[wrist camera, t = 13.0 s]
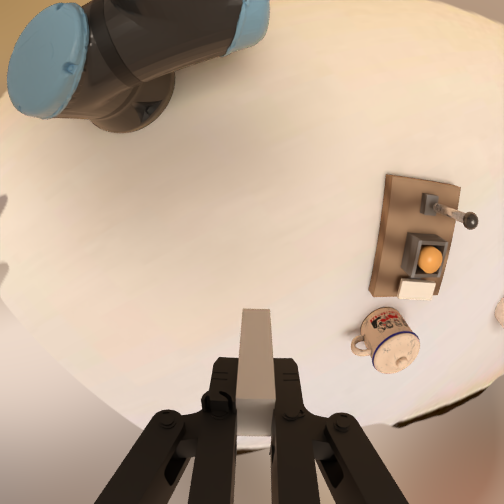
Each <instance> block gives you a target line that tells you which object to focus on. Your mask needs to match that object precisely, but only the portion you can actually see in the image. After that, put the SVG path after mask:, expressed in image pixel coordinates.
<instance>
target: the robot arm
mask: <svg viewBox="0 0 504 504" xmlns="http://www.w3.org/2000/svg"><path fill="white" fill-rule="evenodd" d="M269 15H270V3H269V0H92V1H90V2H89V3H87V4H85V5H84V6H82V7H81V6H79V5H78V4H76V3H57V4H54V5H51V6H49V7H47V8H45V9H44V10H43V11H41V12H40V13H39V14H37V15H36V16H35V18H33V19H32V20H31V22H30V23H29V24H28V25H27V26H26V27H25V29H24V30H23V32H22V33H21V35H20V37H19V38H18V40H17V42H16V44H15V47H14V50H13V53H12V55H11V58H10V61H9V66H8V73H7V87H8V93H9V97H10V99H11V102H12V104H13V105H14V107H15V108H16V109H17V110H18V111H20V112H21V113H23V114H24V115H27V116H32V117H37V118H40V119H51V118H73V119H89V120H90V121H91V122H92V123H93V124H94V125H96V126H97V127H99V128H100V129H102V130H105V131H108V132H114V133H128V132H133V131H137V130H139V129H142V128H144V127H145V126H147V125H149V124H150V123H152V122H153V121H154V120H155V119H156V118H157V117H158V116H159V115H160V114H161V113H162V112H163V110H164V109H165V108H166V106H167V104H168V103H169V101H170V98H171V96H172V93H173V89H174V83H175V74H174V71H176V70H179V69H182V68H184V67H187V66H190V65H193V64H196V63H199V62H202V61H205V60H209V59H212V58H215V57H219V56H220V57H225V56H227V55H229V54H230V53H231V52H235V51H238V50H241V49H245V48H248V47H251V46H254V45H256V44H257V43H258V42H259V41H260V40H262V39H263V37H264V36H265V34H266V31H267V29H268V24H269ZM201 403H202V410H200V411H199V412H197V413H193V414H188V415H181V414H180V413H178V412H176V411H175V410H169V409H168V410H162V411H159V412H157V413H156V414H155V415H154V416H153V417H152V419H151V420H150V422H149V423H148V425H147V426H146V428H145V429H144V431H143V432H142V434H141V435H140V437H139V438H138V440H137V441H136V443H135V444H134V445H133V447H132V449H131V450H130V452H129V453H128V454H127V456H126V457H125V459H124V460H123V462H122V463H121V465H120V466H119V468H118V469H117V471H116V472H115V474H114V475H113V476H112V478H111V479H110V481H109V482H108V484H107V485H106V487H105V488H104V490H103V491H102V493H101V494H100V495H99V497H98V498H97V500H96V501H95V503H94V504H167V503H168V501H169V499H170V497H171V496H172V494H173V492H174V490H175V488H176V486H177V484H178V482H179V480H180V478H181V476H182V474H183V473H184V471H185V468H186V467H187V465H188V463H189V461H190V458H191V457H195V461H194V468H193V473H192V480H191V486H190V492H189V499H188V504H233V502H234V485H235V466H236V450H237V436H271V446H270V453H269V455H271V490H272V491H271V492H272V504H320V498H319V490H318V482H317V474H316V467H315V460H316V462H317V464H318V466H319V469H320V471H321V473H322V475H323V477H324V479H325V481H326V484H327V486H328V488H329V490H330V492H331V494H332V496H333V498H334V500H335V502H336V504H409V503H408V502H407V500H406V498H405V497H404V495H403V494H402V492H401V490H400V489H399V487H398V486H397V484H396V482H395V481H394V479H393V478H392V476H391V474H390V473H389V471H388V469H387V468H386V466H385V465H384V463H383V462H382V460H381V458H380V457H379V455H378V453H377V452H376V450H375V449H374V447H373V445H372V444H371V442H370V441H369V439H368V437H367V436H366V434H365V433H364V431H363V429H362V428H361V426H360V425H359V423H358V421H357V420H356V419H355V418H354V417H353V416H352V415H350V414H348V413H335V414H333V415H331V416H330V417H329V418H326V417H321V416H317V415H314V414H312V413H310V412H309V411H308V410H307V409H306V408H305V407H304V404H303V398H302V392H301V385H300V379H299V372H298V366H297V364H296V363H295V361H294V360H293V359H292V358H273V348H272V333H271V318H270V309H243V312H242V325H241V337H240V350H239V358H226V357H219V358H218V359H217V360H216V362H215V363H214V365H213V371H212V376H211V382H210V388H209V391H207V392H206V393H205V394H203V396H202V398H201ZM314 459H315V460H314Z"/></svg>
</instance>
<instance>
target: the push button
mask: <svg viewBox="0 0 504 504" xmlns="http://www.w3.org/2000/svg"><path fill="white" fill-rule="evenodd" d="M441 263H442V254H441V252H440V251H439V250H438V249H436V248H435V247H433V246H432V245H421V249H420V254H419V258H418V263H417V265H418V266H419V267H420V268H421V269H422V270H423V271H424V272H426V273H429V274H430V273H434V272H435V271H437V270H438V269H439V267H440V266H441Z"/></svg>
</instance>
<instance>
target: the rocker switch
mask: <svg viewBox="0 0 504 504" xmlns="http://www.w3.org/2000/svg"><path fill="white" fill-rule="evenodd" d="M435 285H436V283H435V282H434V281H429V280H416V279H404V278H401V281H400V285H399V289H398V293H397V297H398V298H399V299H415V300H431V299H432V295H433V292H434V289H435Z"/></svg>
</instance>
